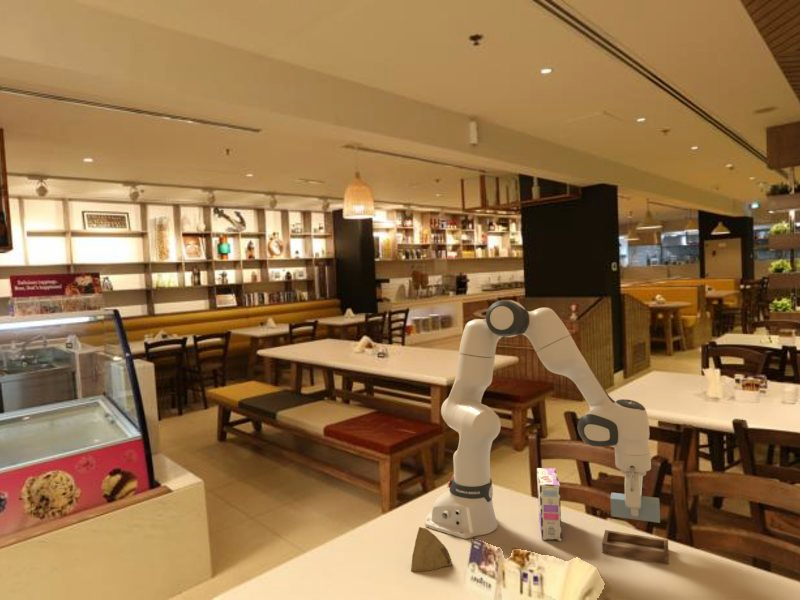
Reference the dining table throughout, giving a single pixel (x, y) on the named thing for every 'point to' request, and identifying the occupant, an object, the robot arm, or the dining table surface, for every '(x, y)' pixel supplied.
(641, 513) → the key block
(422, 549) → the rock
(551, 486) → the candy box
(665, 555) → the open wooden box
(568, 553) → the dining table surface
